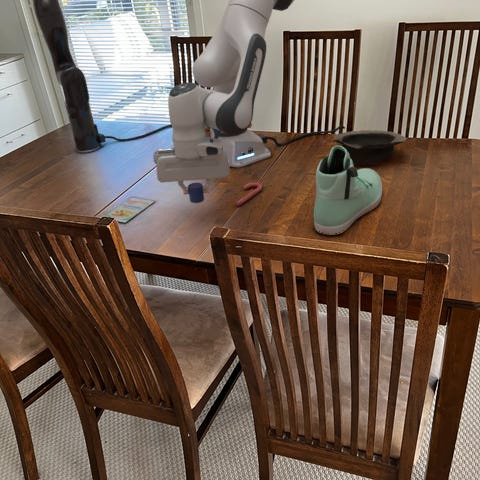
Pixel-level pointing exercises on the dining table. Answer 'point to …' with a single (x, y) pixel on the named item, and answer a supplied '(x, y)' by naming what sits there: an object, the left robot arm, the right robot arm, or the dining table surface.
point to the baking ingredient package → (129, 209)
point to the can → (196, 192)
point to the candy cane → (250, 192)
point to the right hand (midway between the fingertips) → (196, 192)
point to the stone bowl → (369, 145)
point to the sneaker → (343, 192)
